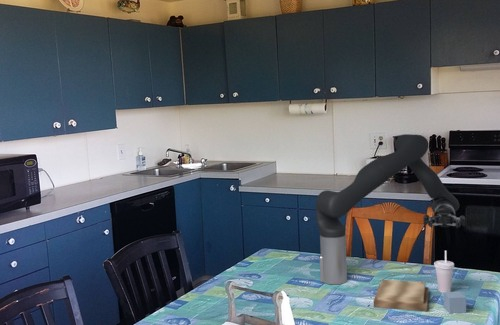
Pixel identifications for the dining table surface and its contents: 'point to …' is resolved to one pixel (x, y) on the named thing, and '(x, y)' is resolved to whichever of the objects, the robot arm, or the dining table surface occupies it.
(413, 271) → the dining table surface
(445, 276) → the smoothie
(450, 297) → the slate cube
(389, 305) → the plinth
